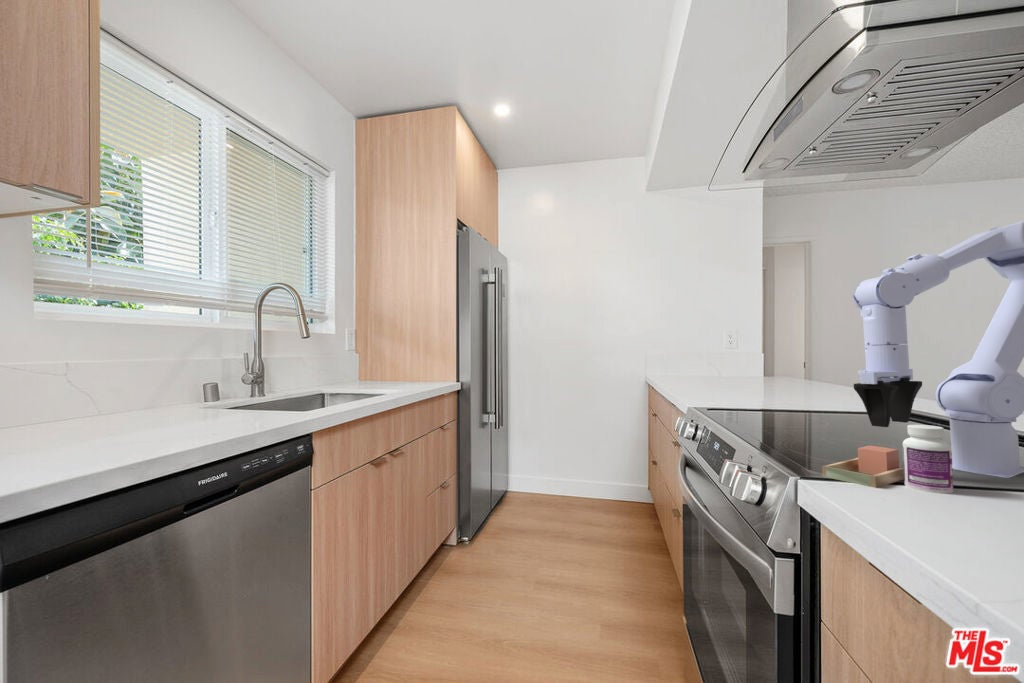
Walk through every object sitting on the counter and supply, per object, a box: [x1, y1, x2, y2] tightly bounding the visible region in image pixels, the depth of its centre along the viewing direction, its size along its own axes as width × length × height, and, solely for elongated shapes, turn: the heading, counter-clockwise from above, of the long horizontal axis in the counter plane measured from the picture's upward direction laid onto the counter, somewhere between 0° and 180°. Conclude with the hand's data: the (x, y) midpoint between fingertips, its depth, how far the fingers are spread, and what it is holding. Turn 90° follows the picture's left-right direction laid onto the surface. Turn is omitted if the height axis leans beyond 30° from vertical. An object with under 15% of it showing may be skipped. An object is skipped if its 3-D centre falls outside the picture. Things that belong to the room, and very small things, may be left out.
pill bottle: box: [901, 424, 954, 494], centre depth 65 cm, size 5×5×10 cm
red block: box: [857, 445, 900, 475], centre depth 73 cm, size 4×4×4 cm
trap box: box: [821, 457, 904, 489], centre depth 72 cm, size 16×7×2 cm, turn 117°
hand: (890, 424), depth 75 cm, fingers open, 7 cm apart
